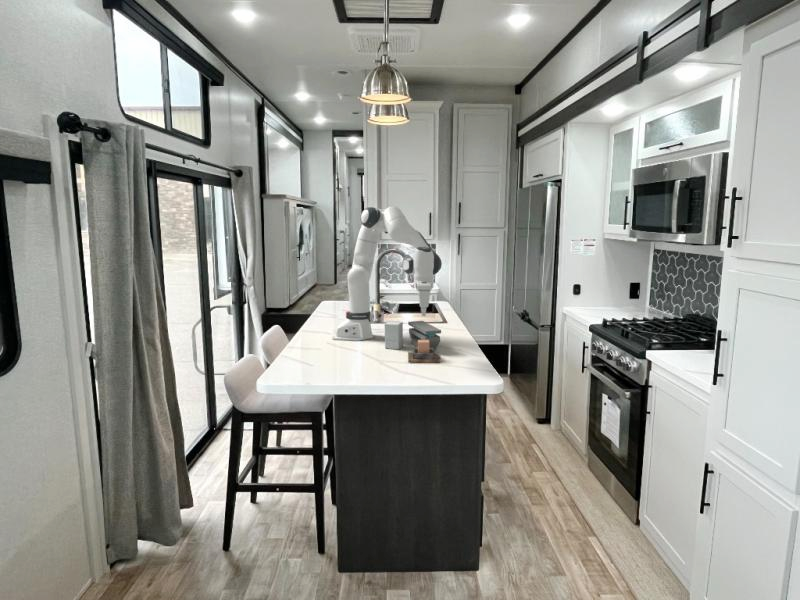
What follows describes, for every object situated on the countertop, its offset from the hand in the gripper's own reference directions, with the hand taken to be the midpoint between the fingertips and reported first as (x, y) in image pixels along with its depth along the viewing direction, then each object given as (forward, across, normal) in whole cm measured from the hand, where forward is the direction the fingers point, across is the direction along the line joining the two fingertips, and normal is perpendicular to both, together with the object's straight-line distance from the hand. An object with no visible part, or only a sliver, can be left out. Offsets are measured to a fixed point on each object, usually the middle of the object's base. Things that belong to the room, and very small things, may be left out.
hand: (423, 314), depth 223 cm
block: (+20, 0, 0) cm, 20 cm away
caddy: (+21, 0, 0) cm, 21 cm away
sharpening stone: (+21, -22, +1) cm, 31 cm away
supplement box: (+21, -21, -14) cm, 33 cm away
